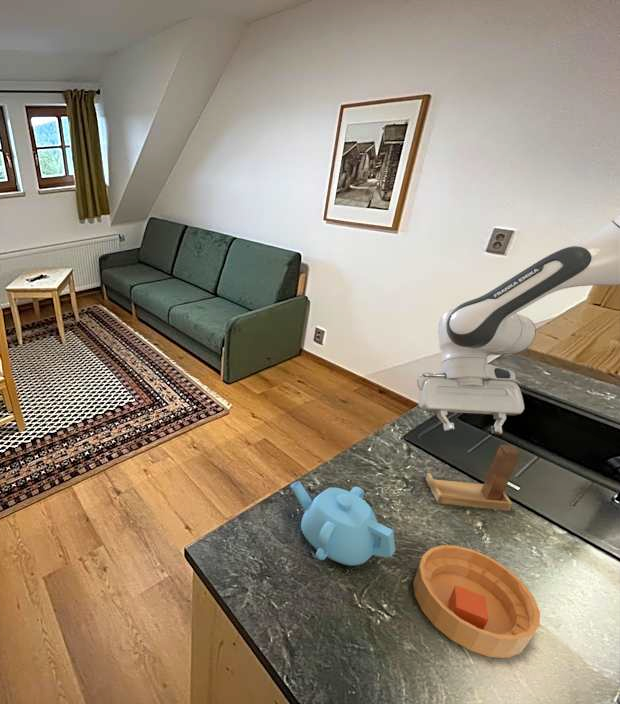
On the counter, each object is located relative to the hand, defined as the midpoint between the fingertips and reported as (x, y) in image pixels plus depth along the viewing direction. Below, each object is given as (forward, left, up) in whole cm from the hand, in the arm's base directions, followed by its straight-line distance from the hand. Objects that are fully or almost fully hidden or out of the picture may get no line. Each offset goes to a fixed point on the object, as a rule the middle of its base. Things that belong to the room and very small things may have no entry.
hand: (472, 432), depth 92 cm
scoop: (+9, +9, -8) cm, 15 cm away
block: (+31, +29, -7) cm, 44 cm away
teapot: (+42, +11, -8) cm, 44 cm away
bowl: (+29, +28, -8) cm, 41 cm away
